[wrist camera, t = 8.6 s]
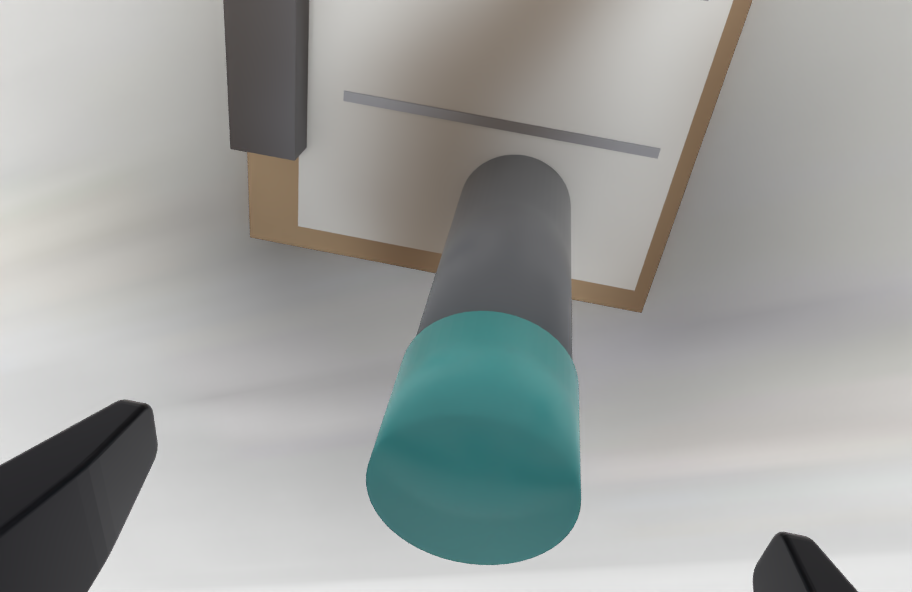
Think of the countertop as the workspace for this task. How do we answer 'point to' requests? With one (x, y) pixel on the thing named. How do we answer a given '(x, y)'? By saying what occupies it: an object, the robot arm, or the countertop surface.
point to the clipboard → (474, 119)
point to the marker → (489, 382)
